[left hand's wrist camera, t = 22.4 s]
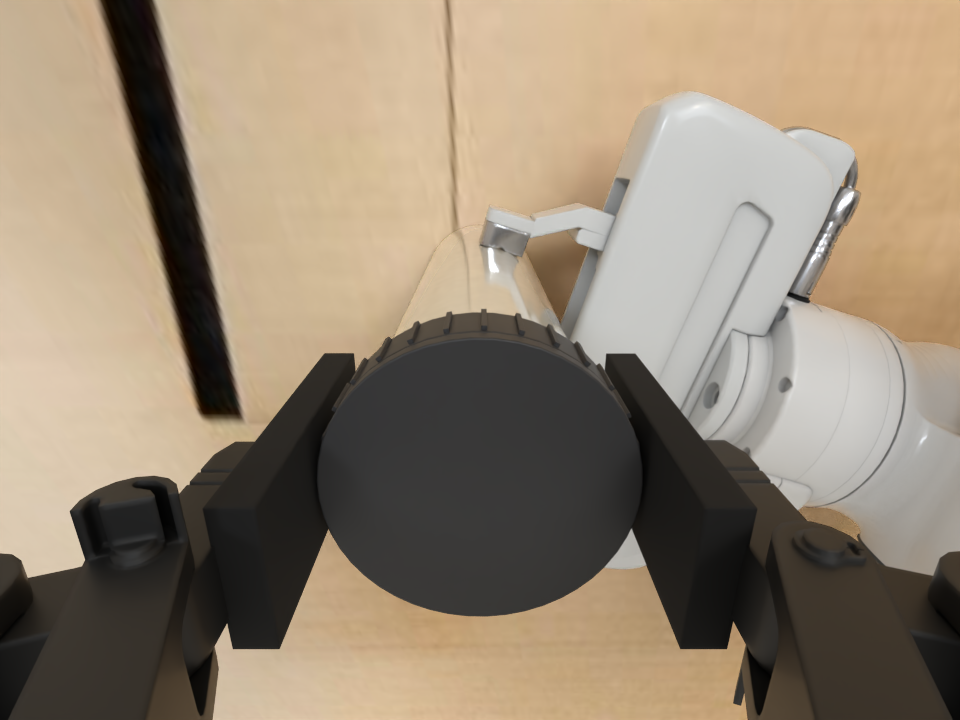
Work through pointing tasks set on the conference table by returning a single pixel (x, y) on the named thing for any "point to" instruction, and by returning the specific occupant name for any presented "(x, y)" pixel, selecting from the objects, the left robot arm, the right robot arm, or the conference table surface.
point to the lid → (479, 466)
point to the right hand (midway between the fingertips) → (459, 305)
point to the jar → (478, 283)
